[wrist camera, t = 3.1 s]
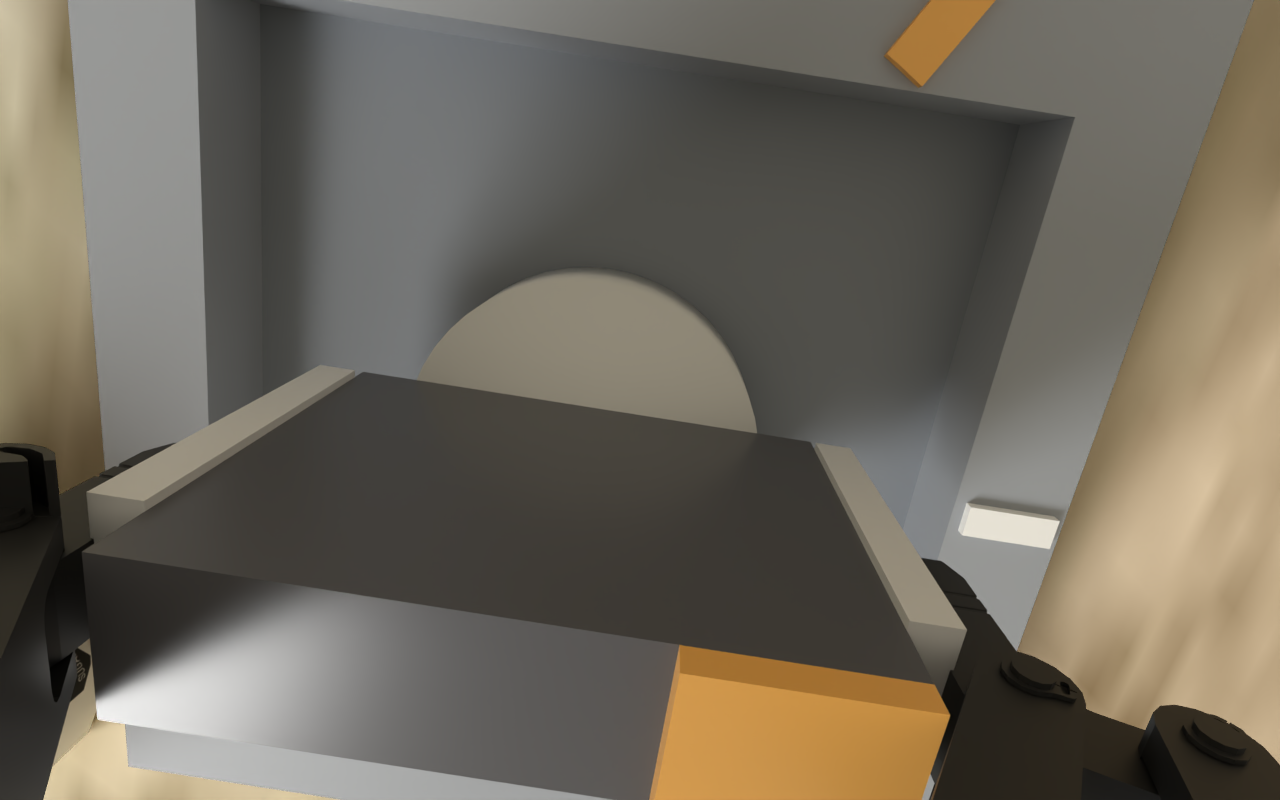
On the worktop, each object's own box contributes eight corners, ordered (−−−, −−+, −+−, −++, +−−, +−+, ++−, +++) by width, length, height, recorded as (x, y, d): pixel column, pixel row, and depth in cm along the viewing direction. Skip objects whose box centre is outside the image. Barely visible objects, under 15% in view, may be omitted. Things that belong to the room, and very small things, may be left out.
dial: (386, 537, 20) (85, 920, 9) (402, 235, 17) (18, 325, 7) (754, 594, 20) (839, 1037, 10) (821, 302, 17) (1029, 483, 7)
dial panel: (207, 680, 23) (122, 773, 19) (178, -125, 16) (40, -207, 13) (892, 787, 23) (932, 899, 20) (1138, 29, 16) (1267, -11, 13)
